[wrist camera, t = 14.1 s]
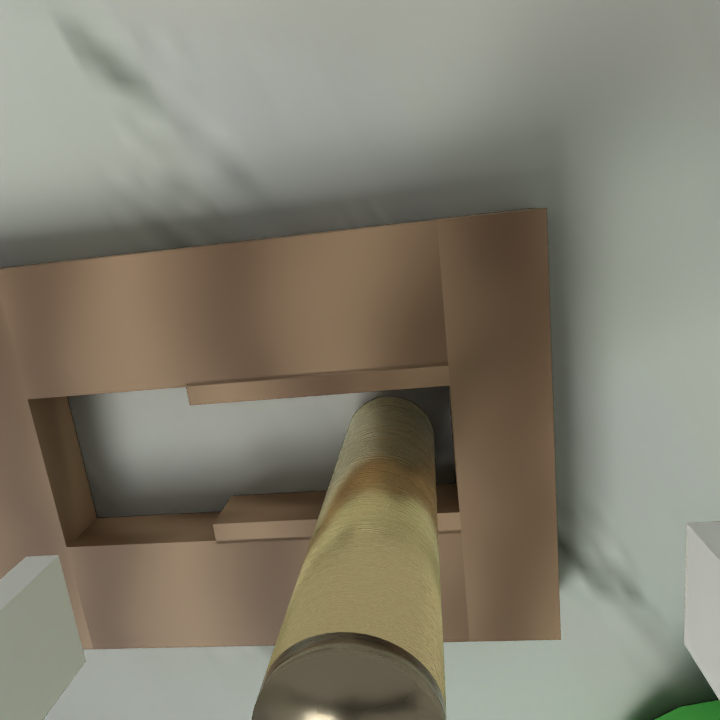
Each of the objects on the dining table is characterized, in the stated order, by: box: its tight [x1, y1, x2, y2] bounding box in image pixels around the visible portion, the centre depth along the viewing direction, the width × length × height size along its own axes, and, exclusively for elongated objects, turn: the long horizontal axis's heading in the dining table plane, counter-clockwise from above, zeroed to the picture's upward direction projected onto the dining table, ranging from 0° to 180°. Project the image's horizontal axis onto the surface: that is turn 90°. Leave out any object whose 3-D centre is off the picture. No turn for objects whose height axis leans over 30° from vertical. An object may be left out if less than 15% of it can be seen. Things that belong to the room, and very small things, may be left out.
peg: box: [252, 397, 447, 720], centre depth 15 cm, size 3×3×12 cm
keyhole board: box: [0, 208, 561, 649], centre depth 20 cm, size 20×14×2 cm
